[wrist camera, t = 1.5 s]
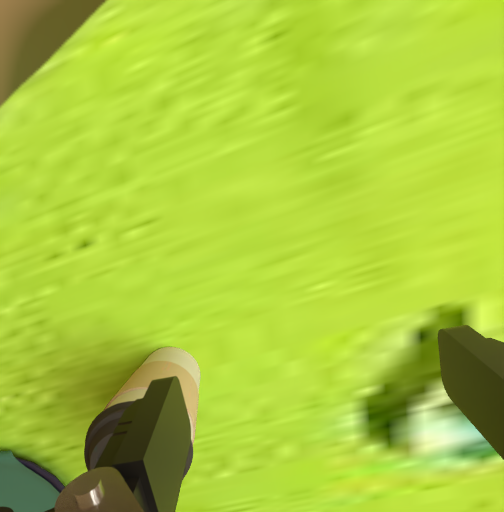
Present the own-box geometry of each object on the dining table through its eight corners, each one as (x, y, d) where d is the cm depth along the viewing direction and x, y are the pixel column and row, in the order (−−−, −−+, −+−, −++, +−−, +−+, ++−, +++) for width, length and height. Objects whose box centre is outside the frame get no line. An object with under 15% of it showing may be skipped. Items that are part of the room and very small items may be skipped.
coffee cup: (132, 407, 45) (73, 518, 31) (131, 336, 43) (68, 417, 29) (209, 411, 45) (187, 524, 31) (211, 339, 43) (188, 423, 29)
